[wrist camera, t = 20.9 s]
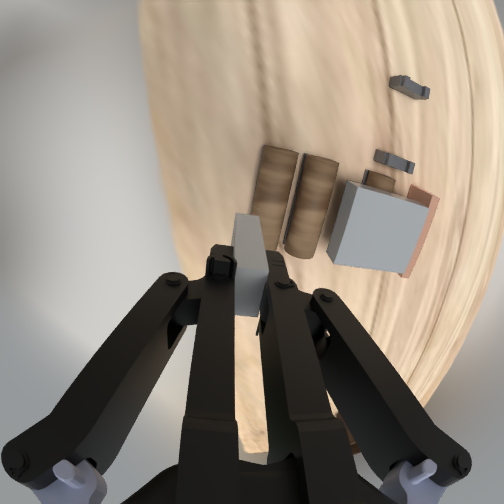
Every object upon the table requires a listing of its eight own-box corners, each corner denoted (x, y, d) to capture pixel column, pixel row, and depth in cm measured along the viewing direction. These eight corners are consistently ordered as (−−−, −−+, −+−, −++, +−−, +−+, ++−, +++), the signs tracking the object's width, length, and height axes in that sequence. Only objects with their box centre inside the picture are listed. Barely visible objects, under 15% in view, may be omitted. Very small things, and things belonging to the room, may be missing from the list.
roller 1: (262, 144, 40) (266, 148, 35) (294, 151, 40) (302, 155, 36) (244, 237, 47) (246, 251, 42) (274, 241, 48) (278, 255, 43)
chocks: (263, 145, 40) (264, 145, 39) (389, 176, 42) (390, 177, 42) (246, 237, 47) (246, 238, 46) (363, 255, 50) (364, 256, 49)
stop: (411, 184, 43) (432, 195, 37) (418, 187, 43) (439, 198, 37) (385, 258, 50) (401, 277, 44) (392, 260, 50) (408, 278, 44)
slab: (347, 180, 37) (357, 186, 34) (416, 200, 39) (429, 208, 35) (326, 251, 43) (333, 264, 39) (393, 262, 44) (404, 273, 41)
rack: (390, 76, 34) (404, 74, 30) (416, 90, 35) (431, 89, 31) (373, 160, 41) (385, 164, 37) (400, 169, 42) (413, 175, 38)
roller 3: (365, 169, 42) (376, 174, 38) (388, 176, 42) (400, 182, 38) (340, 251, 49) (347, 263, 45) (362, 255, 50) (370, 267, 45)
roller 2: (302, 152, 40) (312, 157, 36) (331, 159, 41) (344, 165, 37) (281, 242, 48) (287, 257, 43) (308, 246, 48) (317, 260, 44)
